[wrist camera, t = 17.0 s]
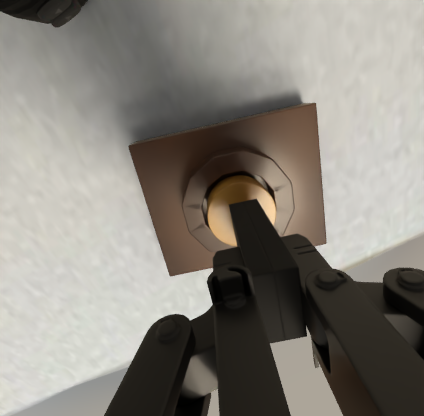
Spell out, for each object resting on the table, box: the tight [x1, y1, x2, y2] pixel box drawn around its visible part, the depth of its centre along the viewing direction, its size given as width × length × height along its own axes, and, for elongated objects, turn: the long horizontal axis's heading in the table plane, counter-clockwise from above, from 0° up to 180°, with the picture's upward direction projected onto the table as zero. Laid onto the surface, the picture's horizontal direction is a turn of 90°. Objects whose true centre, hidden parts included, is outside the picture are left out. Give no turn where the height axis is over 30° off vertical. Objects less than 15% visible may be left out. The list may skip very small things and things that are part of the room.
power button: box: [207, 175, 276, 246], centre depth 16 cm, size 4×4×2 cm
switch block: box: [129, 103, 326, 276], centre depth 19 cm, size 12×10×4 cm
